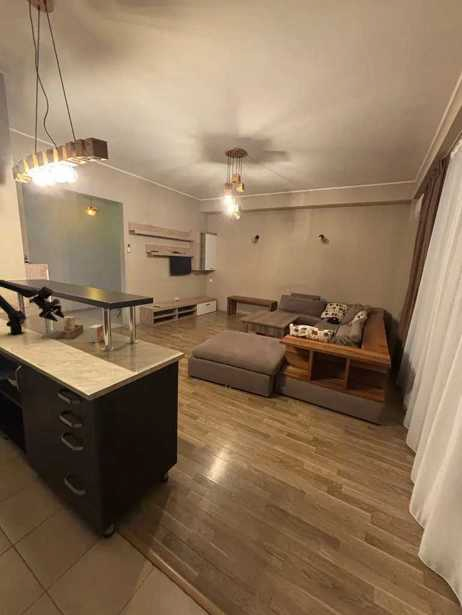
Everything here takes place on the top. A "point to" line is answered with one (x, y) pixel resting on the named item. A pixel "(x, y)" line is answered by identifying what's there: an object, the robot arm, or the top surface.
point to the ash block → (69, 323)
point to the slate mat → (50, 334)
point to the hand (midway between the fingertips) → (60, 319)
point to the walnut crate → (69, 333)
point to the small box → (95, 333)
